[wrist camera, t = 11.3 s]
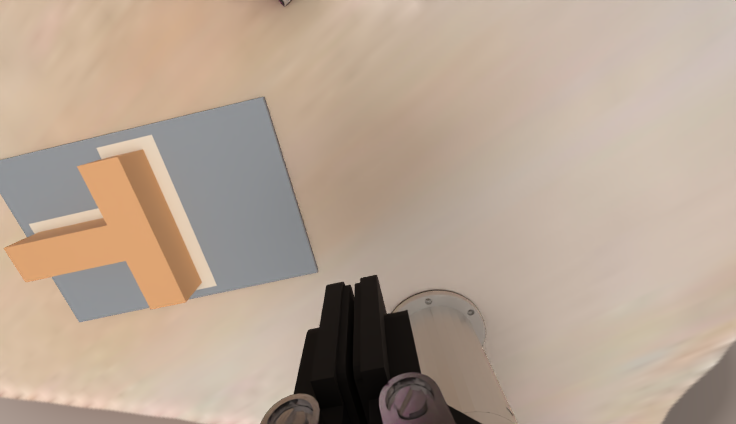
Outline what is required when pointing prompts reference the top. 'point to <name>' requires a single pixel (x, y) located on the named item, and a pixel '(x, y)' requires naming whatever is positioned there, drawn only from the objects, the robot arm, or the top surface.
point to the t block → (117, 234)
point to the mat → (176, 203)
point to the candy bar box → (284, 2)
